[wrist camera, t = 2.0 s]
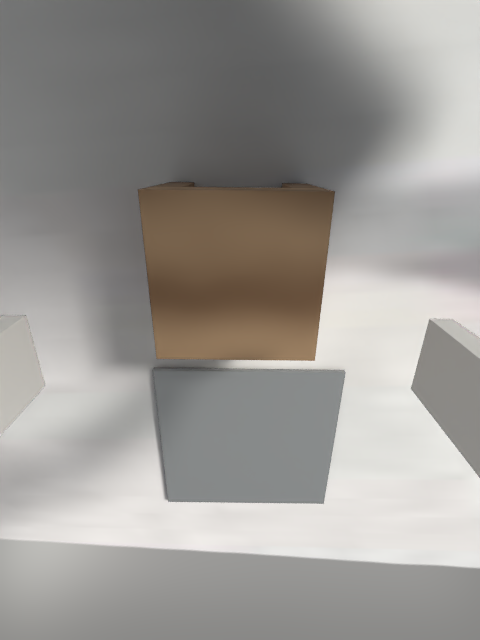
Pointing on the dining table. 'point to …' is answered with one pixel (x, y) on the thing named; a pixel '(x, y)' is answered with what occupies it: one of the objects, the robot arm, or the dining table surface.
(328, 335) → the dining table surface
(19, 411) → the robot arm
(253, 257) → the wooden stool
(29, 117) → the dining table surface
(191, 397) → the mat
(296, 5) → the dining table surface
